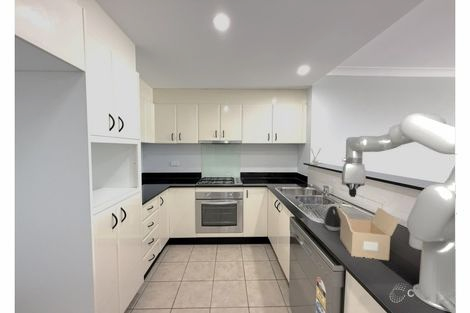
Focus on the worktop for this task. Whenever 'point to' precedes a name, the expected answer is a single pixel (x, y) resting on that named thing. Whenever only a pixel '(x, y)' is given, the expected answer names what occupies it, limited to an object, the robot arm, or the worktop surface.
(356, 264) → the worktop surface
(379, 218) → the right flap
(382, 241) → the carton
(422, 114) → the robot arm
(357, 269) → the worktop surface
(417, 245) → the milk bottle
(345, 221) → the left flap
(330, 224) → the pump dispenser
